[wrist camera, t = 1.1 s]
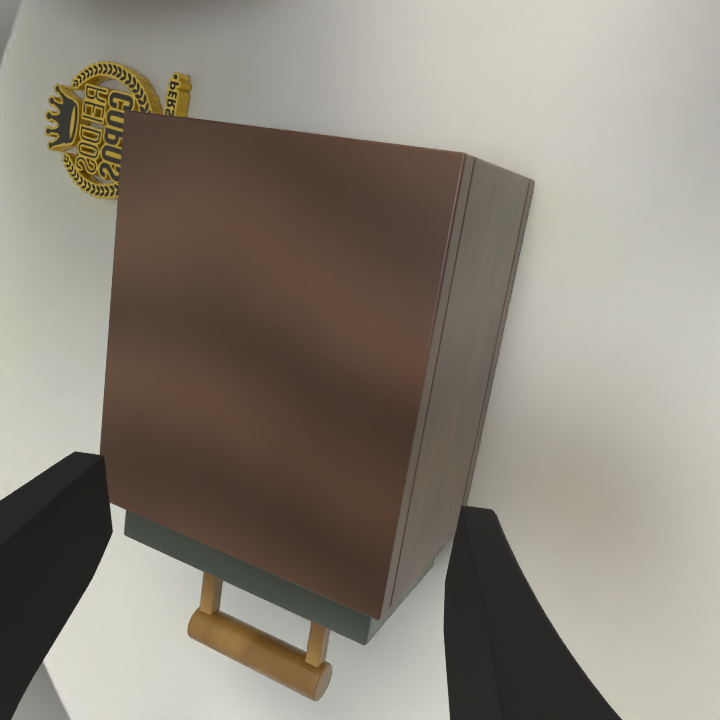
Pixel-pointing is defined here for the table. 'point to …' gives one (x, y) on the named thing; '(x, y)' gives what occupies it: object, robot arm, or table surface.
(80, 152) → the logo
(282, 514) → the cabinet
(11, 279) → the table surface
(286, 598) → the drawer
